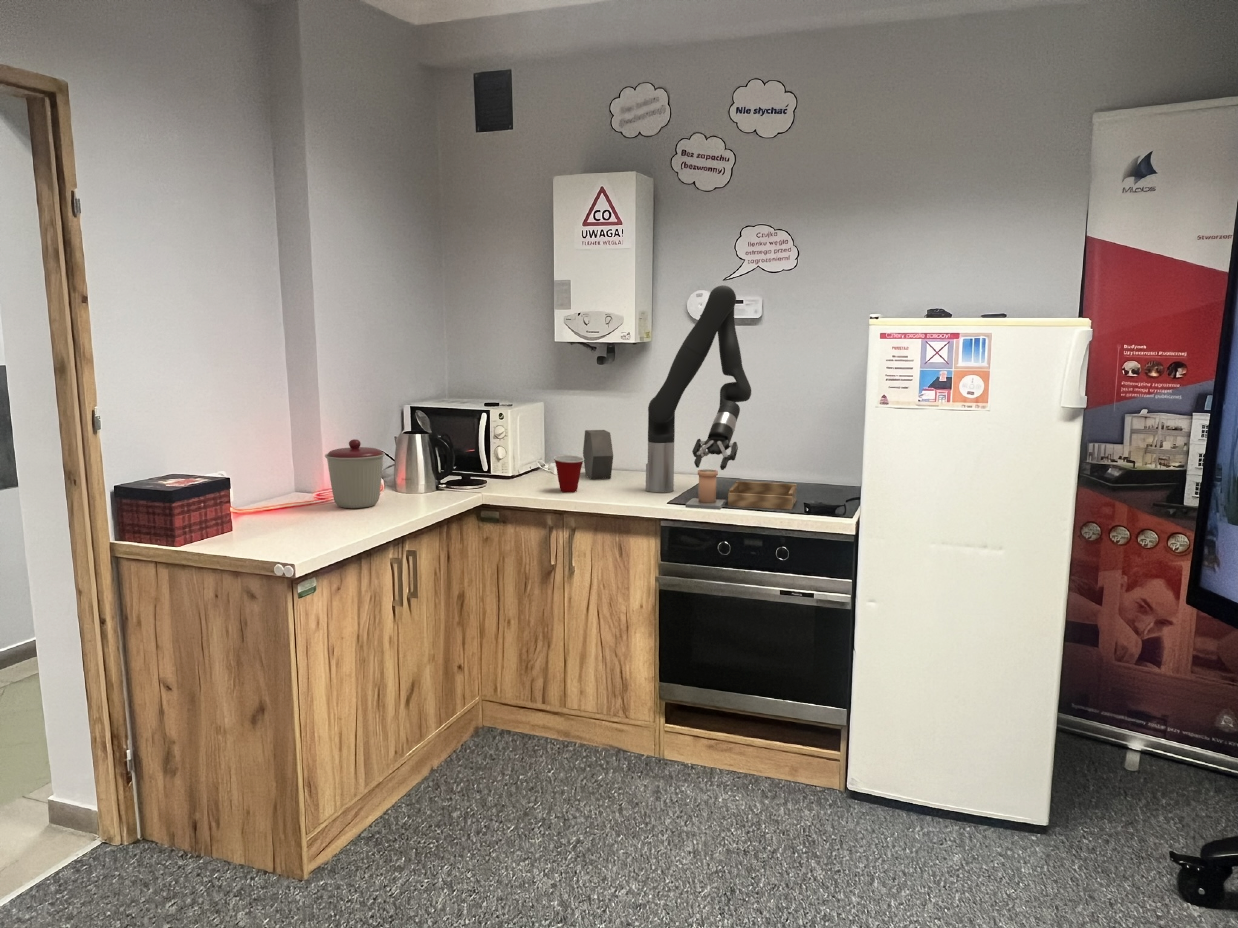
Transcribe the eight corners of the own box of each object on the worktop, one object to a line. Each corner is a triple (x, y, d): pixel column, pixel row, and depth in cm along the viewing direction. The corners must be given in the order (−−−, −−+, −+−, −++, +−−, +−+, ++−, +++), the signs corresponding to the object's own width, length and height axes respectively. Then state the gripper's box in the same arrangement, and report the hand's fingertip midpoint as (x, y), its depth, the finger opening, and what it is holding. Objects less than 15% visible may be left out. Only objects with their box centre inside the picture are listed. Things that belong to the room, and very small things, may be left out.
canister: (396, 501, 282) (394, 437, 279) (368, 512, 265) (366, 443, 262) (346, 499, 286) (343, 435, 283) (315, 509, 269) (312, 441, 266)
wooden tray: (728, 505, 279) (728, 488, 278) (735, 497, 294) (736, 480, 293) (791, 509, 273) (792, 492, 273) (795, 500, 289) (796, 484, 288)
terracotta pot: (695, 502, 278) (696, 471, 277) (699, 499, 284) (699, 468, 283) (715, 504, 276) (716, 472, 275) (718, 500, 283) (719, 469, 281)
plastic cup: (566, 495, 296) (566, 460, 294) (547, 490, 304) (546, 456, 302) (591, 491, 303) (591, 457, 301) (571, 487, 311) (571, 454, 309)
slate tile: (685, 507, 276) (685, 504, 276) (692, 500, 287) (692, 498, 287) (719, 509, 273) (720, 506, 273) (725, 502, 284) (725, 499, 284)
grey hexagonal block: (615, 469, 323) (608, 419, 331) (594, 469, 321) (588, 420, 329) (606, 487, 337) (600, 439, 346) (587, 488, 336) (581, 440, 344)
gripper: (700, 420, 290) (685, 458, 281) (741, 423, 284) (727, 462, 275) (705, 434, 295) (691, 472, 287) (745, 437, 289) (732, 476, 281)
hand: (709, 467), depth 281 cm, fingers open, 8 cm apart
